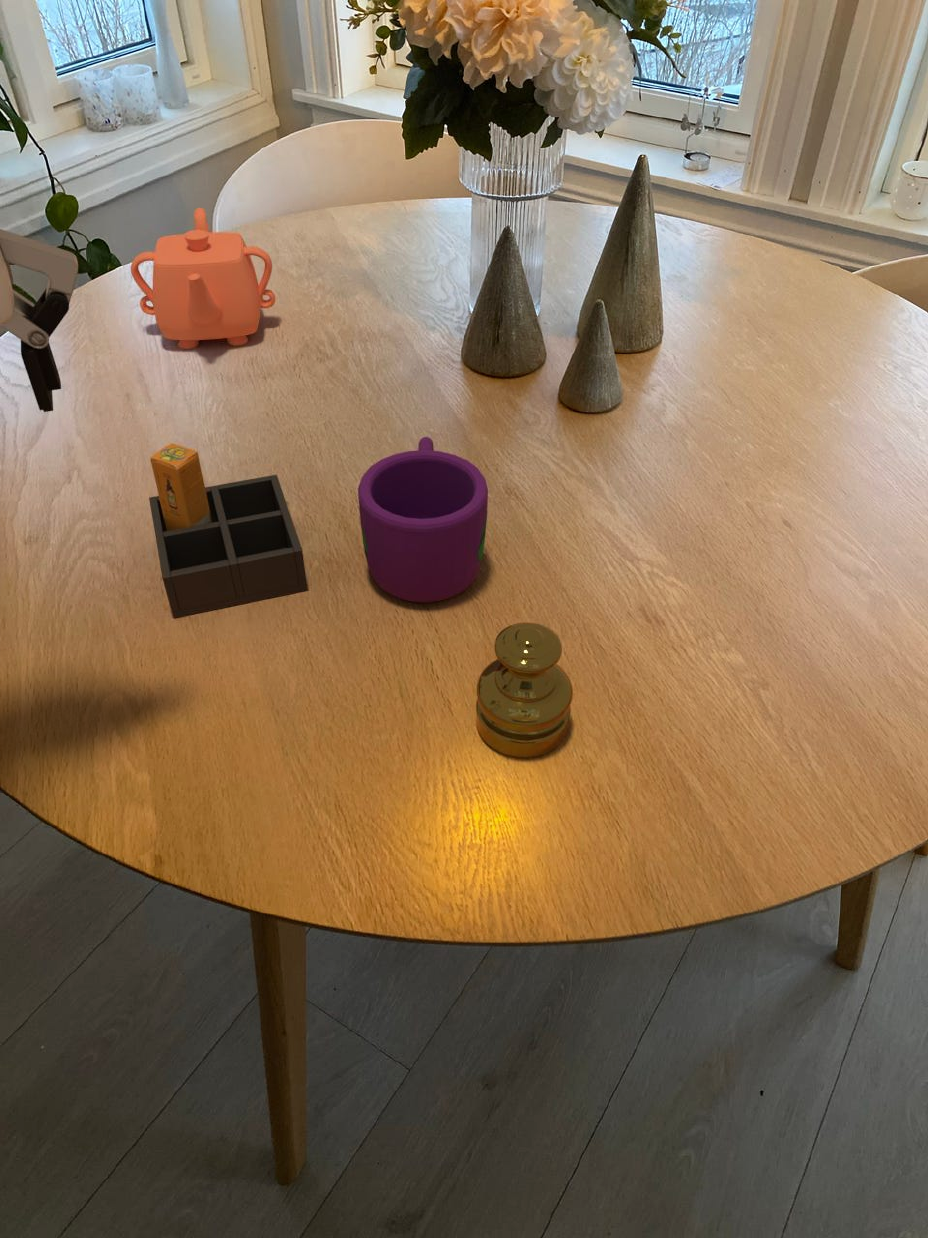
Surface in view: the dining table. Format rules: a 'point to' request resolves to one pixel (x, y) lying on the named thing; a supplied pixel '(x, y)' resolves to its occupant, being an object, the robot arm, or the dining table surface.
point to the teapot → (204, 285)
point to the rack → (231, 549)
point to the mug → (423, 523)
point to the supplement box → (180, 487)
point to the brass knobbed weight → (524, 692)
